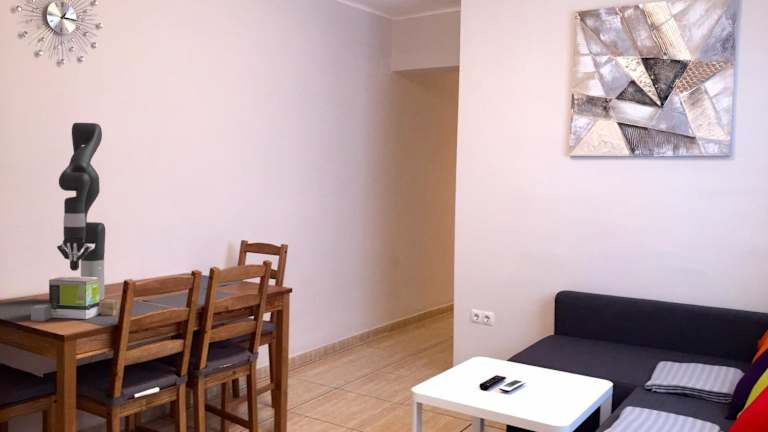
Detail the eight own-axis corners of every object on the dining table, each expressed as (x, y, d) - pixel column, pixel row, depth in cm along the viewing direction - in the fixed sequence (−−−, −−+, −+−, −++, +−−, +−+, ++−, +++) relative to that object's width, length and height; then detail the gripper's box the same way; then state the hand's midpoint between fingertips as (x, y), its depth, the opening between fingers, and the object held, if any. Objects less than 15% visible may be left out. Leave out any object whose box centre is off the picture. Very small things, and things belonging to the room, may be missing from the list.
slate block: (38, 317, 246) (38, 304, 246) (51, 318, 246) (51, 304, 246) (30, 320, 241) (30, 306, 241) (44, 321, 241) (44, 307, 241)
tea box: (100, 314, 255) (100, 276, 254) (86, 320, 245) (86, 281, 244) (63, 312, 256) (63, 274, 255) (48, 317, 246) (48, 278, 245)
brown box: (106, 312, 259) (106, 299, 258) (119, 312, 258) (119, 300, 258) (100, 315, 254) (100, 302, 253) (113, 315, 253) (113, 302, 253)
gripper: (96, 224, 251) (96, 269, 253) (62, 223, 252) (62, 268, 253) (86, 226, 244) (86, 272, 245) (52, 225, 245) (52, 271, 246)
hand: (74, 270), depth 249 cm, fingers closed
